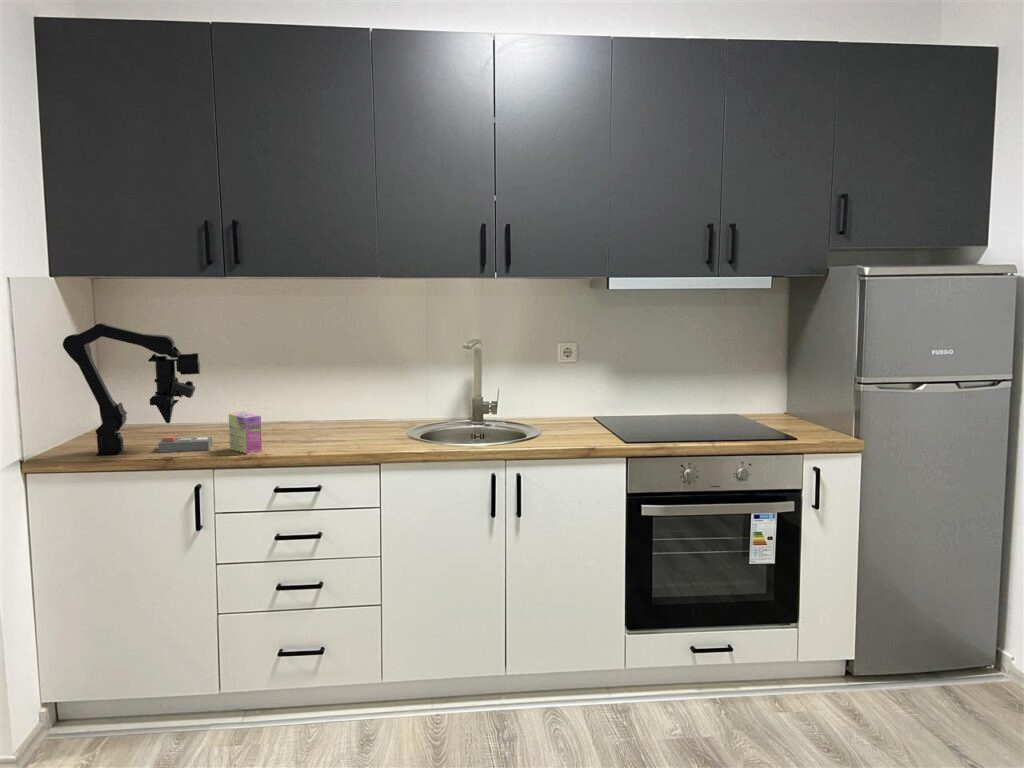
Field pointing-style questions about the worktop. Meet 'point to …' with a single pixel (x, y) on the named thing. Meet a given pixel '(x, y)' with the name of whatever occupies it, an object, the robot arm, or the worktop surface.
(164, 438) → the red button
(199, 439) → the cream button
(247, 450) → the box
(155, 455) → the worktop surface
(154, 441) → the worktop surface
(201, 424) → the worktop surface
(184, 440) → the green button
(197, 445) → the button panel
